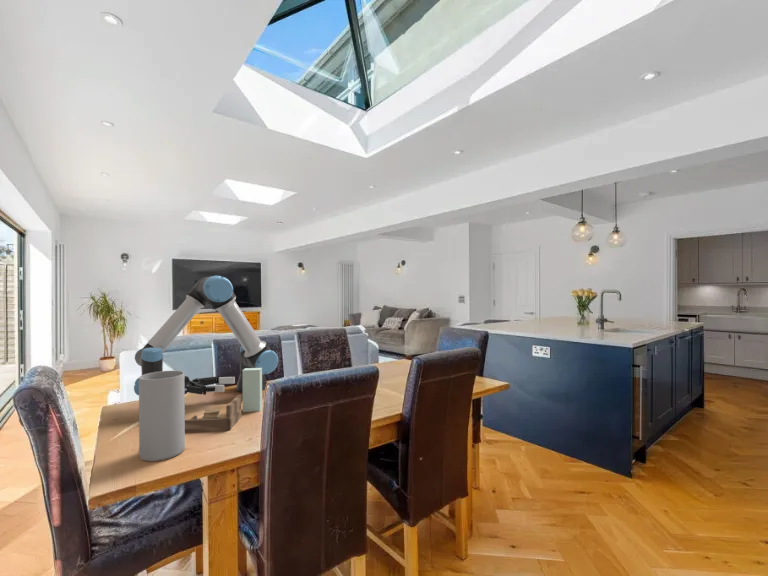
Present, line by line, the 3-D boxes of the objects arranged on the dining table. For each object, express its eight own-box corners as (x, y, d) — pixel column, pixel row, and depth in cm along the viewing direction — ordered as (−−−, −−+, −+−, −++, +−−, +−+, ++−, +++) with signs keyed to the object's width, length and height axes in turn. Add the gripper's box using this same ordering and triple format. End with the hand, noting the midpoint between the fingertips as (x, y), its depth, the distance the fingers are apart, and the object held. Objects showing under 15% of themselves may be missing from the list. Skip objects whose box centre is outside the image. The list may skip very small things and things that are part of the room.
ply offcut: (205, 418, 148) (205, 413, 148) (221, 417, 149) (221, 413, 149) (201, 422, 144) (201, 417, 144) (217, 421, 145) (217, 416, 145)
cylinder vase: (191, 452, 120) (190, 374, 120) (146, 466, 111) (146, 381, 111) (176, 442, 129) (176, 369, 129) (134, 454, 119) (133, 375, 119)
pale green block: (245, 410, 160) (245, 368, 160) (262, 409, 161) (262, 367, 161) (242, 413, 156) (242, 370, 156) (259, 412, 157) (259, 369, 157)
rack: (194, 421, 148) (194, 396, 148) (241, 420, 150) (241, 394, 150) (178, 435, 134) (177, 407, 134) (229, 433, 136) (229, 405, 136)
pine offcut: (205, 414, 148) (205, 409, 148) (219, 413, 149) (219, 408, 149) (203, 417, 144) (203, 412, 144) (217, 416, 145) (217, 411, 145)
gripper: (189, 386, 169) (238, 385, 170) (161, 403, 144) (219, 401, 145) (189, 370, 169) (238, 368, 170) (161, 384, 144) (218, 382, 146)
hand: (229, 384), depth 158 cm, fingers open, 13 cm apart
